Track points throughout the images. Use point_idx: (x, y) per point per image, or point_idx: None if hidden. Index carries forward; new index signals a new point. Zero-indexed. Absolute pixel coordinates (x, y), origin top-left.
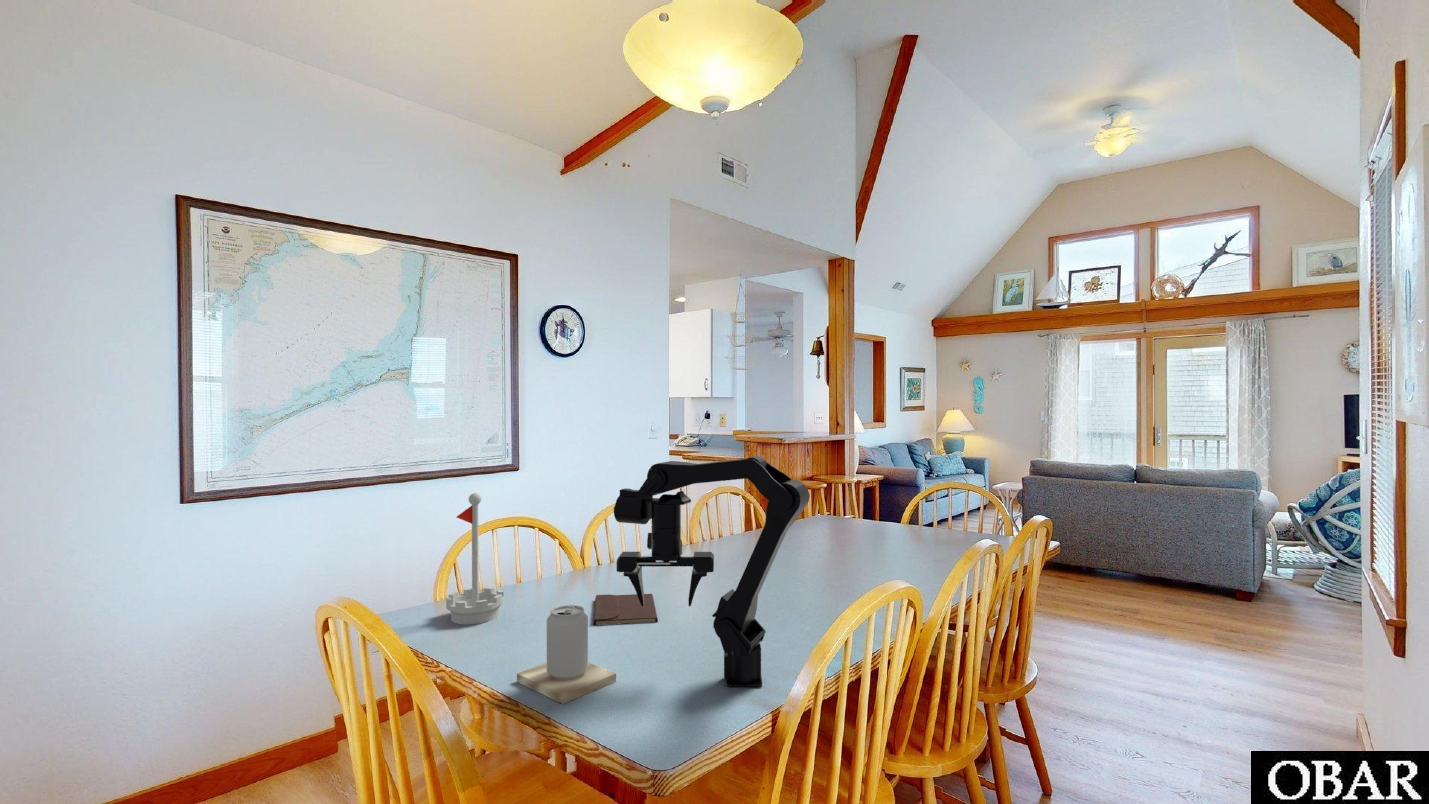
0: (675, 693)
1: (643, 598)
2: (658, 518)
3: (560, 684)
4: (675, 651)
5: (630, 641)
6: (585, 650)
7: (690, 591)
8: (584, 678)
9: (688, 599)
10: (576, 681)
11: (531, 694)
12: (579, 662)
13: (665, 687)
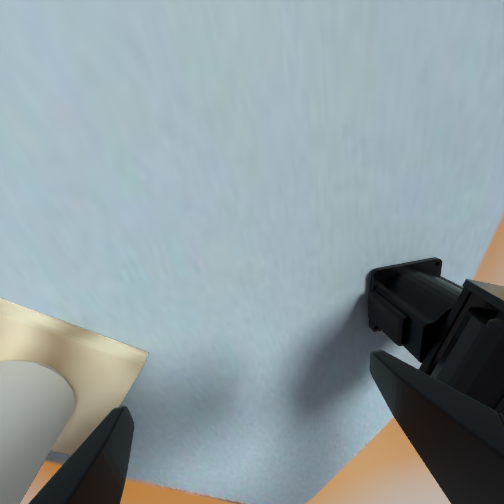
0: (279, 367)
1: (118, 470)
2: None
3: None
4: (231, 155)
5: (47, 79)
6: (43, 451)
7: (450, 493)
8: (86, 399)
9: (394, 416)
10: (77, 413)
11: None
12: (55, 441)
13: (256, 351)
